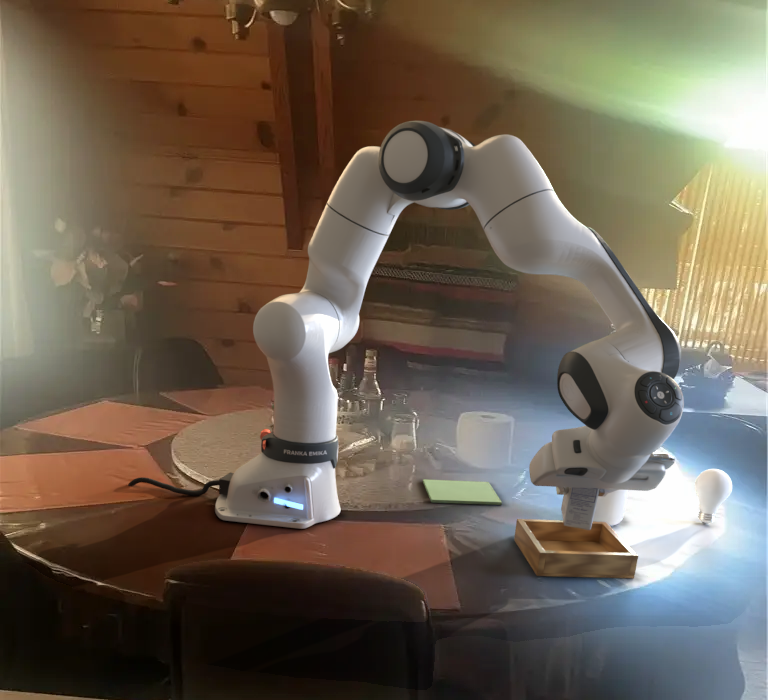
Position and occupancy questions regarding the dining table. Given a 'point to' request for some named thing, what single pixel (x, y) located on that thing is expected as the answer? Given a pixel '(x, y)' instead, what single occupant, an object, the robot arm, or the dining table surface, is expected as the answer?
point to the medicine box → (579, 507)
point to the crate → (574, 550)
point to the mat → (461, 492)
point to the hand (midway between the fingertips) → (579, 491)
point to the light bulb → (711, 493)
